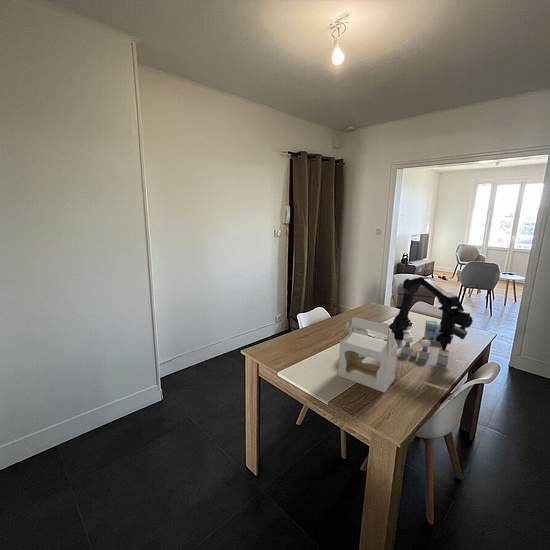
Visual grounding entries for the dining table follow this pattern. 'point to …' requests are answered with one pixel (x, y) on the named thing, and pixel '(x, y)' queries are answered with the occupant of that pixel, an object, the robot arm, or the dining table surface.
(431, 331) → the light bulb box
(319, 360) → the dining table surface
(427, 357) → the panel
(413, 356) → the knob
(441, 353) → the knob
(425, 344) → the knob mid
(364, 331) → the milk carton
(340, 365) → the gable box
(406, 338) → the knob
